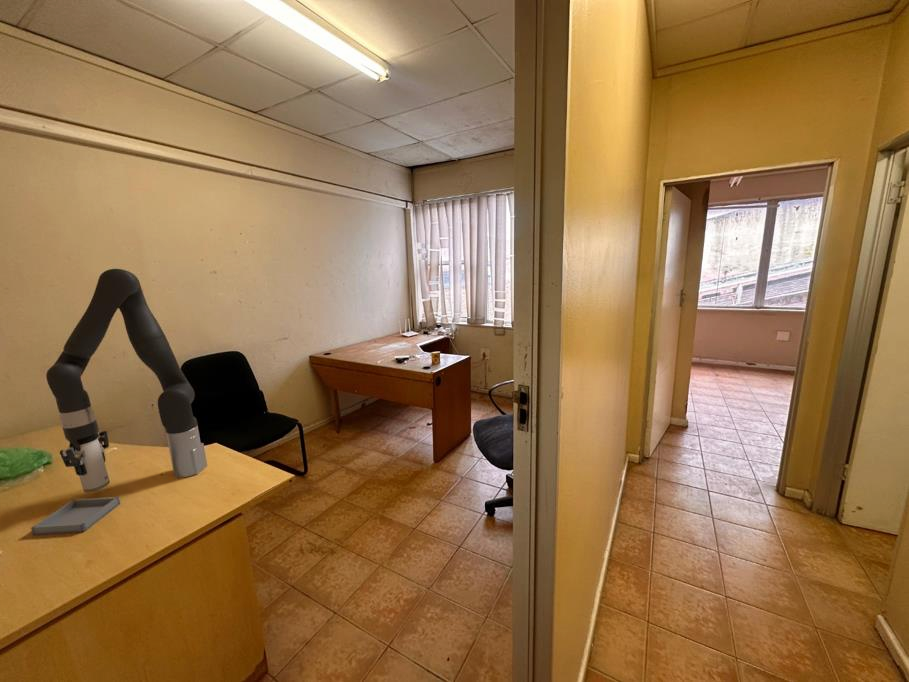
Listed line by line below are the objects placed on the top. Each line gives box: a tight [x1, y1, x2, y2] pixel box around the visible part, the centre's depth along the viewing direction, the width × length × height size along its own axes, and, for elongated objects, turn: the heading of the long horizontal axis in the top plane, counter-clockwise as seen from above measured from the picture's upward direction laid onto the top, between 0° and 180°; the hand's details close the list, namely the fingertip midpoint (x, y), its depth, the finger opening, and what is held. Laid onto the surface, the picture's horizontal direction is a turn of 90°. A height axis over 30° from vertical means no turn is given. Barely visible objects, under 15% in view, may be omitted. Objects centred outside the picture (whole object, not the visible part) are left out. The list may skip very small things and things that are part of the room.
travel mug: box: [73, 434, 111, 493], centre depth 115 cm, size 6×7×20 cm
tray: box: [30, 496, 121, 536], centre depth 106 cm, size 13×12×2 cm
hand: (92, 468), depth 116 cm, fingers closed on travel mug, 6 cm apart
